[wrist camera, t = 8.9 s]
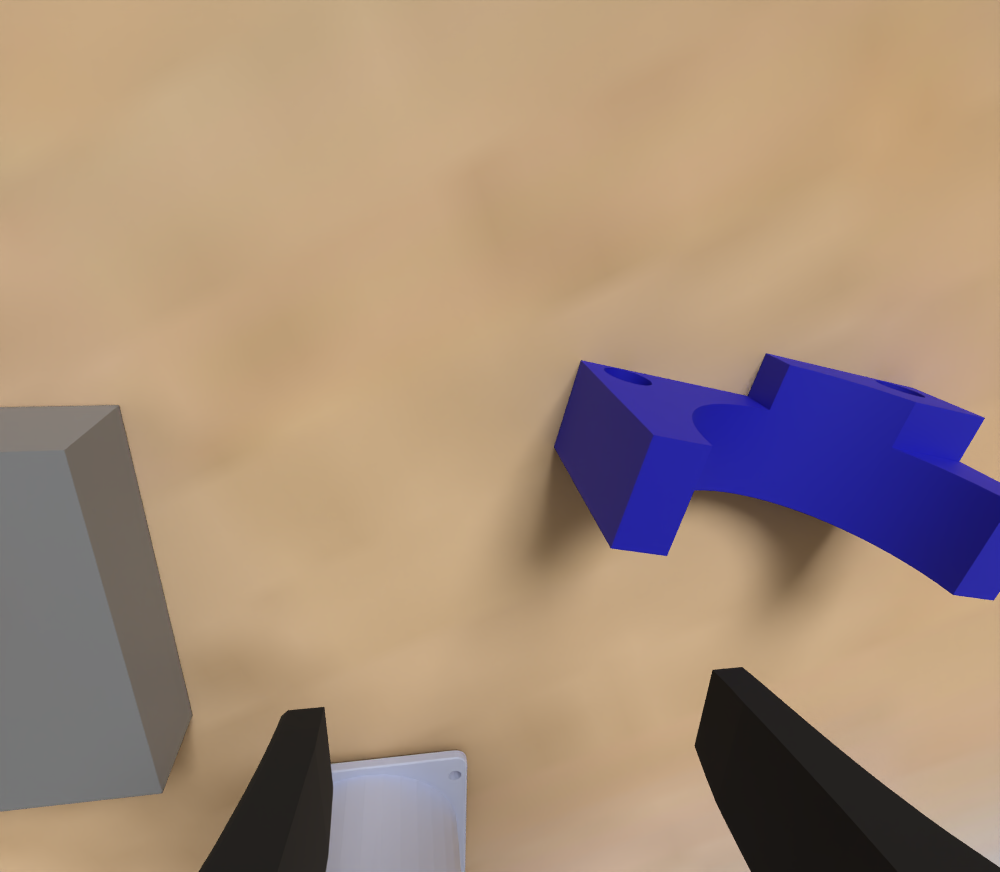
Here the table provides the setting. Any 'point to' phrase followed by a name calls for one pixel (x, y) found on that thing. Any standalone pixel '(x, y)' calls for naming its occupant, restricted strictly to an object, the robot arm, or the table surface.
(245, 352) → the table surface
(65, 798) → the socket block
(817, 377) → the cable clip
